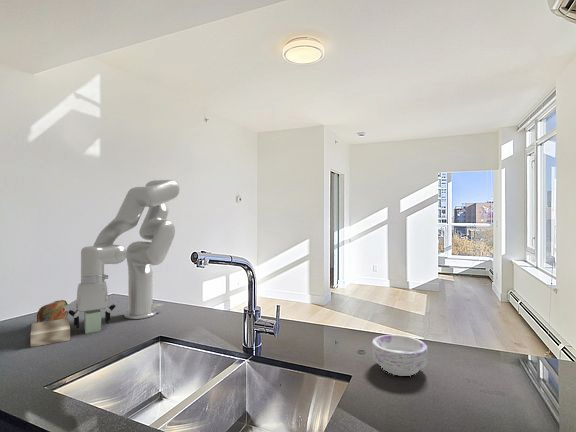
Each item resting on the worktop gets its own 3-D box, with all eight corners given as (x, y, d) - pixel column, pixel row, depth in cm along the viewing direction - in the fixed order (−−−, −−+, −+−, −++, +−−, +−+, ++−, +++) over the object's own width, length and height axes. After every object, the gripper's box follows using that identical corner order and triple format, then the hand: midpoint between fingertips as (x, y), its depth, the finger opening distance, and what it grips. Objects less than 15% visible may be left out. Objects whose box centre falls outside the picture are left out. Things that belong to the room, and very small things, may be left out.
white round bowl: (380, 354, 110) (380, 329, 110) (431, 366, 102) (431, 339, 102) (364, 373, 97) (365, 345, 97) (421, 388, 89) (422, 358, 89)
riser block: (68, 328, 131) (67, 318, 131) (70, 340, 120) (70, 328, 120) (31, 334, 125) (31, 323, 125) (30, 347, 113) (30, 335, 113)
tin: (43, 330, 129) (43, 308, 129) (34, 330, 129) (34, 307, 129) (69, 317, 144) (69, 297, 144) (62, 317, 144) (61, 297, 144)
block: (99, 327, 133) (99, 309, 133) (101, 331, 129) (101, 312, 129) (84, 329, 130) (84, 311, 130) (85, 333, 126) (85, 314, 126)
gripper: (116, 275, 137) (116, 318, 138) (64, 280, 127) (64, 326, 128) (119, 278, 131) (119, 323, 131) (65, 283, 121) (65, 332, 121)
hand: (92, 324), depth 130 cm, fingers open, 9 cm apart
